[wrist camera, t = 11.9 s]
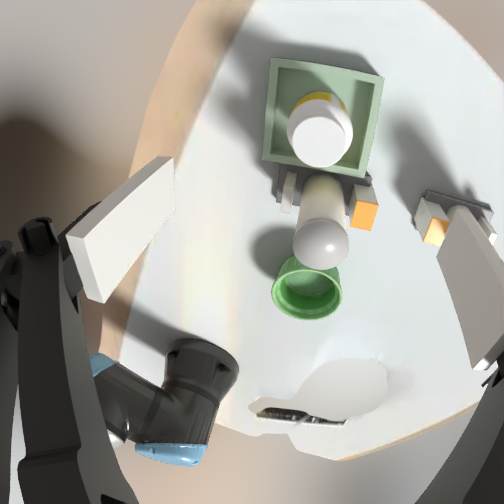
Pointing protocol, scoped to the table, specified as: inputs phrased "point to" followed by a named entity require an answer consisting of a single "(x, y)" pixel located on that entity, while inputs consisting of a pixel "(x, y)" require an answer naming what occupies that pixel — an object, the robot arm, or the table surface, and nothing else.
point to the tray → (327, 79)
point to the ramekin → (306, 291)
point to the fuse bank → (356, 213)
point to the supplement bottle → (319, 129)
